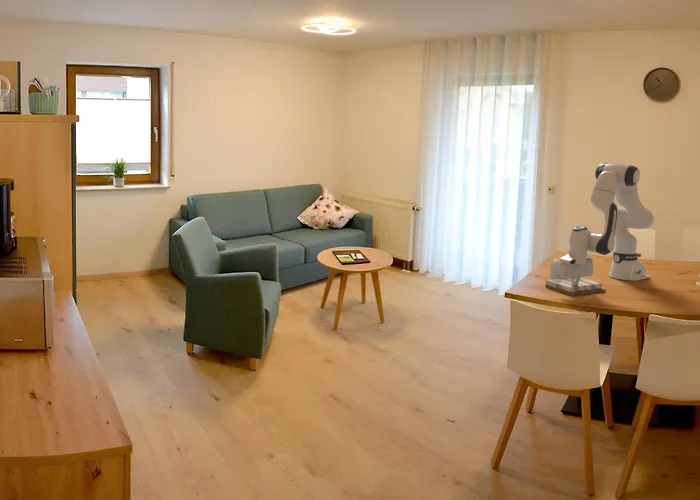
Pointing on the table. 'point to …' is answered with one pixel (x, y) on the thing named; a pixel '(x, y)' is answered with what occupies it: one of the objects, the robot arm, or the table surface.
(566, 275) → the robot arm
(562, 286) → the plank
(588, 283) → the plank
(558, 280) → the floor section
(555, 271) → the grey arched block
